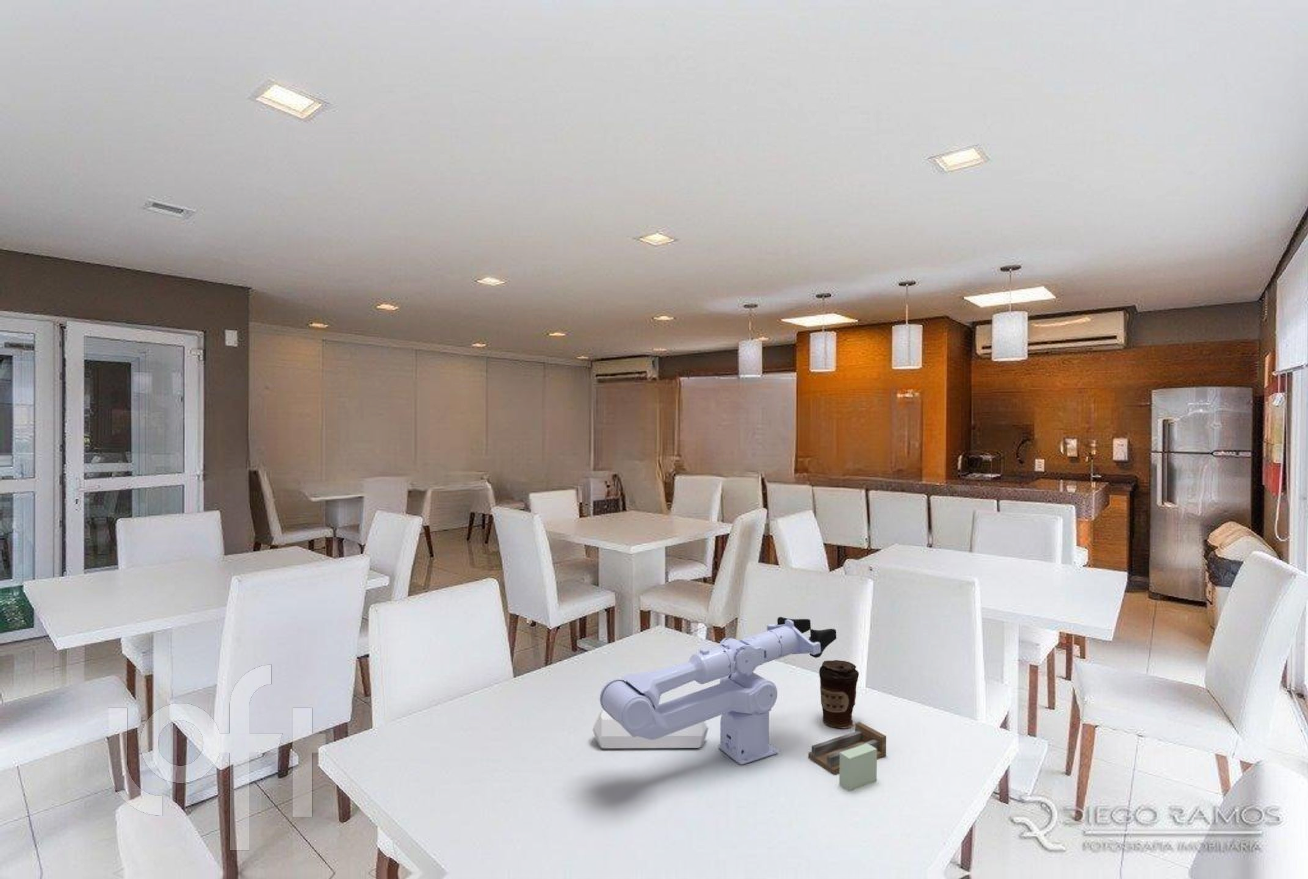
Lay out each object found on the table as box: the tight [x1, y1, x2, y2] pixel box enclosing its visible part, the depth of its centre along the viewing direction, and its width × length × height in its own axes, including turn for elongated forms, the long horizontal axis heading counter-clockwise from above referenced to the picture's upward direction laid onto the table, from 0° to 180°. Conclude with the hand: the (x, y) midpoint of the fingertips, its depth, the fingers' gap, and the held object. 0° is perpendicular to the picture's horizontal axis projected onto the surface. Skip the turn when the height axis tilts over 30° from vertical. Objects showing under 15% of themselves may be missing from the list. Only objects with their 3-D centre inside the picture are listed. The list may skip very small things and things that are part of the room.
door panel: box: [838, 743, 878, 792], centre depth 119 cm, size 7×2×6 cm, turn 119°
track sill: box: [807, 721, 887, 776], centre depth 128 cm, size 14×7×4 cm, turn 119°
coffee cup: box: [818, 659, 860, 729], centre depth 142 cm, size 9×8×13 cm
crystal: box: [592, 708, 709, 749], centre depth 133 cm, size 7×7×24 cm
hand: (821, 628), depth 139 cm, fingers open, 7 cm apart
